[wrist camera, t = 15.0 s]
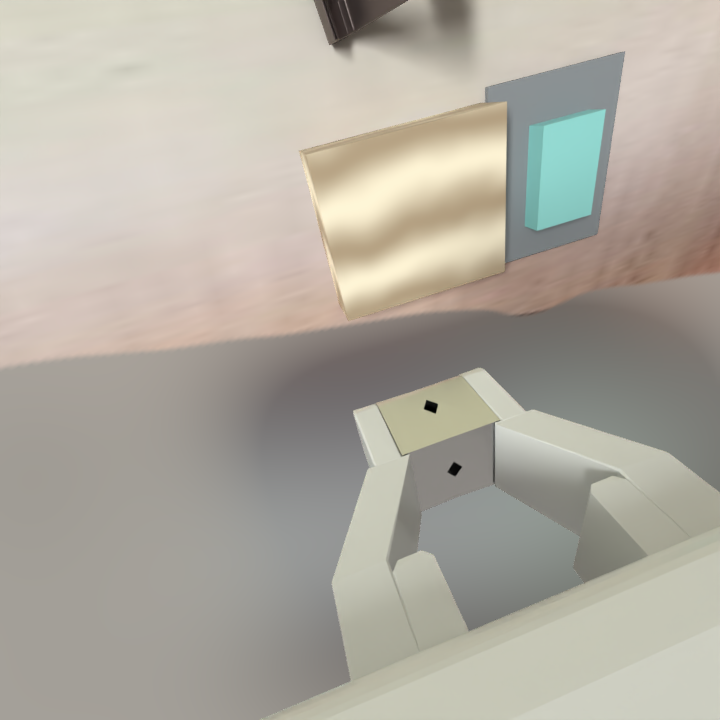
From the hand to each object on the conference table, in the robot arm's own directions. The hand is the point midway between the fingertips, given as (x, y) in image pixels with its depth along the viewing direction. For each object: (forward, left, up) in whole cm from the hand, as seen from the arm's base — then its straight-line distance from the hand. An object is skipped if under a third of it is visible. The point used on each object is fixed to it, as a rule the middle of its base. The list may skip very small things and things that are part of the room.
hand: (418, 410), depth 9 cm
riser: (+4, +10, -29) cm, 31 cm away
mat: (+4, +25, -29) cm, 39 cm away
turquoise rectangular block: (+4, +26, -27) cm, 37 cm away
